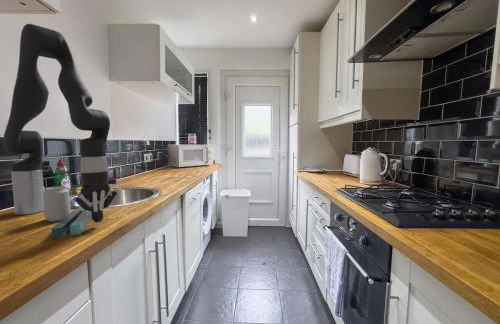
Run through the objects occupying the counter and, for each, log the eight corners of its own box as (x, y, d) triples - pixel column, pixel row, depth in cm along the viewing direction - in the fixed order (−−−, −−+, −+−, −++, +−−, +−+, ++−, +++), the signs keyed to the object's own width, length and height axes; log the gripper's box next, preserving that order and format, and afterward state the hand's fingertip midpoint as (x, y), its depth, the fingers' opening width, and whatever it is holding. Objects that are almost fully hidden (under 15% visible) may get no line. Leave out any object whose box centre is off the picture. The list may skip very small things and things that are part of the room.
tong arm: (85, 217, 90) (84, 209, 90) (93, 216, 91) (92, 208, 91) (70, 235, 72) (69, 225, 71) (80, 234, 73) (79, 224, 72)
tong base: (76, 216, 92) (75, 206, 91) (90, 215, 93) (89, 204, 93) (52, 238, 70) (51, 225, 70) (70, 236, 72) (70, 223, 71)
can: (73, 215, 93) (71, 184, 92) (67, 220, 87) (65, 188, 86) (49, 217, 91) (47, 186, 90) (41, 223, 84) (38, 189, 83)
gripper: (109, 168, 86) (112, 215, 87) (66, 171, 75) (69, 225, 76) (120, 169, 82) (123, 218, 83) (76, 173, 71) (80, 230, 72)
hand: (97, 221), depth 80 cm, fingers closed
